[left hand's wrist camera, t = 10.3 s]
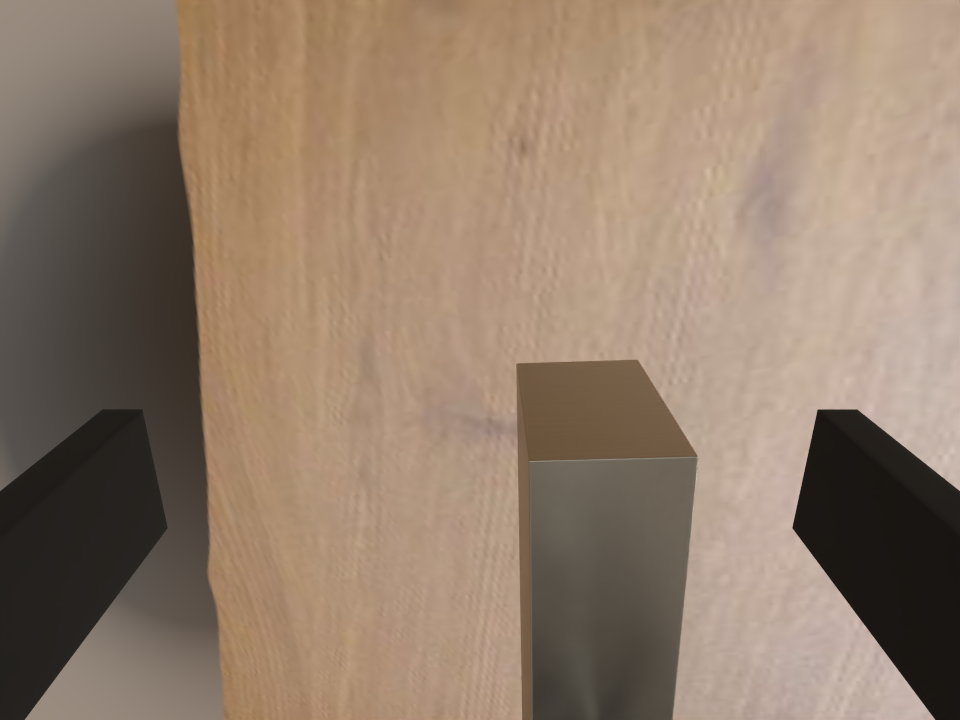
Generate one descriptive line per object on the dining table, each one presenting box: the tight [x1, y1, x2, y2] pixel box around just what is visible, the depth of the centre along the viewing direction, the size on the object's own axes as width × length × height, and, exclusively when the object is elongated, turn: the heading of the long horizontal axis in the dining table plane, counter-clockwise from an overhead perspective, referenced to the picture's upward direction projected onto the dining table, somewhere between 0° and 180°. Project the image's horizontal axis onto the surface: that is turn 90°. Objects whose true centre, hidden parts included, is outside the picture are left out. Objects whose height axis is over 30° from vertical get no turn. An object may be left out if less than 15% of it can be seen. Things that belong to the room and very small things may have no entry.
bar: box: [516, 360, 698, 720], centre depth 30 cm, size 27×6×9 cm, turn 2°
